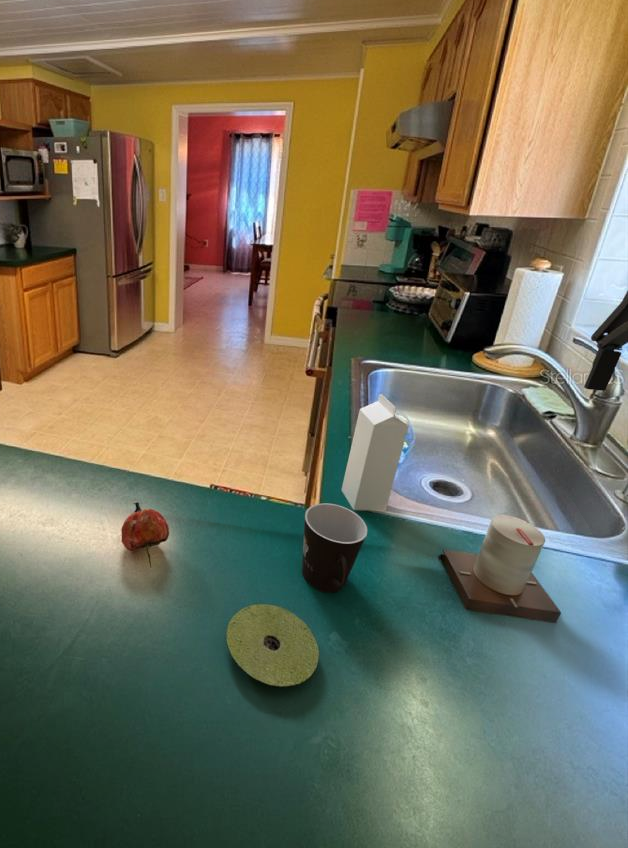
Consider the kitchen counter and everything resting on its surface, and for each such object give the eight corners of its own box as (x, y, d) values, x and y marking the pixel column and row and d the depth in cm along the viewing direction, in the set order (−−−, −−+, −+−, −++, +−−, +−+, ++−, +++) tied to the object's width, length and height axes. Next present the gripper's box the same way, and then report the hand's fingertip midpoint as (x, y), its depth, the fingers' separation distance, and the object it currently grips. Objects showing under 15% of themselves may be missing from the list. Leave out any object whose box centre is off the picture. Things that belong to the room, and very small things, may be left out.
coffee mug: (303, 547, 77) (314, 496, 73) (358, 569, 73) (372, 517, 69) (280, 595, 67) (290, 540, 63) (341, 624, 63) (356, 566, 60)
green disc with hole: (214, 619, 63) (216, 608, 62) (293, 609, 65) (295, 598, 64) (241, 704, 53) (243, 692, 52) (332, 689, 55) (336, 677, 54)
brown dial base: (517, 568, 75) (522, 557, 74) (557, 625, 65) (563, 613, 64) (438, 557, 76) (442, 546, 75) (466, 611, 67) (470, 599, 66)
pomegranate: (172, 567, 74) (163, 504, 79) (175, 560, 67) (164, 491, 72) (125, 575, 73) (118, 510, 78) (123, 568, 66) (116, 499, 71)
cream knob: (465, 559, 73) (483, 511, 70) (508, 564, 73) (529, 516, 69) (486, 592, 67) (507, 541, 64) (533, 598, 67) (556, 546, 63)
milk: (369, 498, 90) (396, 393, 82) (384, 518, 85) (414, 408, 76) (338, 497, 90) (363, 392, 82) (351, 518, 84) (378, 407, 76)
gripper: (832, 281, 50) (732, 453, 58) (649, 252, 73) (595, 378, 81) (753, 275, 51) (665, 445, 59) (597, 248, 74) (549, 374, 82)
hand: (625, 407), depth 70 cm, fingers open, 13 cm apart
